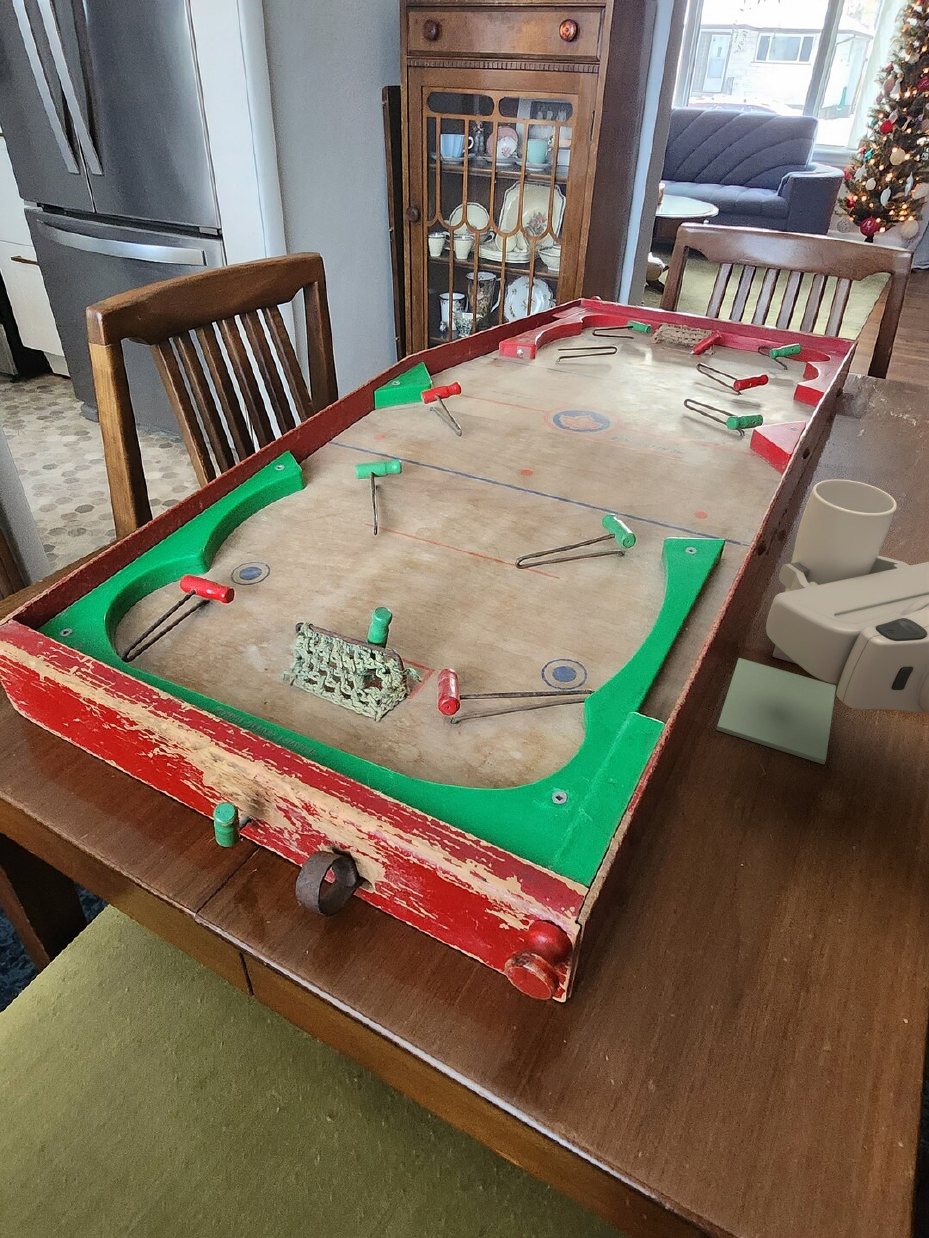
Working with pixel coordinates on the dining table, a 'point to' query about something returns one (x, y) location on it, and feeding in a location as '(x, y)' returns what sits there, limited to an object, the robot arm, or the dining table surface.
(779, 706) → the mat
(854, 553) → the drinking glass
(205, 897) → the dining table surface
